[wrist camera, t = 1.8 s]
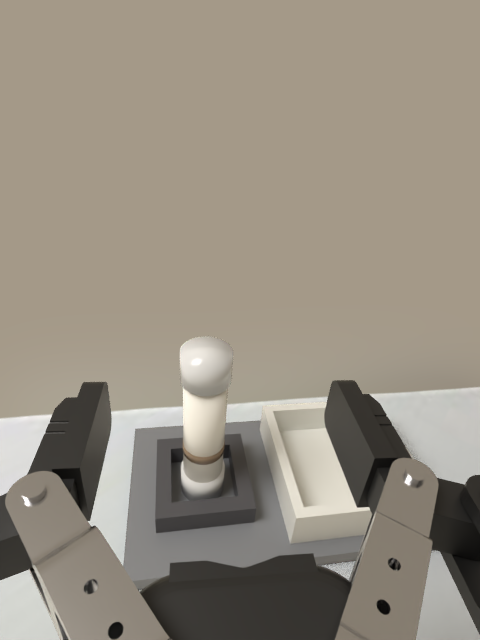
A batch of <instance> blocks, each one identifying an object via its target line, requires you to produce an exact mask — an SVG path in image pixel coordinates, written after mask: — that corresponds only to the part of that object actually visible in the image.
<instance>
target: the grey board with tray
mask: <svg viewBox="0 0 480 640" xmlns="http://www.w3.org/2000/svg"><path fill="white" fill-rule="evenodd" d="M326 404H327V402H316V403H300V404H283V405H266V406H263V409H262V416H261V421H247V422H232V423H225V437H224V438H225V446H224V453H223V461H224V464H225V472H224V485H223V491H222V493H221V495H220V496H219V497H218V498H213V499H202V500H192V501H189V500H188V499H186V498H185V496H184V495H183V493H182V490H181V464H182V461H183V426H172V427H157V428H142V429H135V440H134V451H133V462H132V474H131V485H130V497H129V508H128V520H127V531H126V542H125V554H124V565H123V567H124V569H125V570H126V572H127V573H128V575H129V577H130V578H131V580H132V581H133V583H134V584H135V586H136V587H137V589H144V588H145V587H146V586H148V585H149V584H151V583H152V582H154V581H156V580H158V579H160V578H162V577H165V576H167V575H169V571H170V563H176V562H191V561H206V560H207V561H211V562H216V563H221V564H226V565H231V566H236V567H241V568H246V567H249V566H252V565H255V564H257V563H260V562H263V561H266V560H268V559H271V558H274V557H277V556H280V555H295V554H309V553H313V554H314V558H315V562H316V565H325V564H332V563H340V562H347V561H355V560H356V559H357V556H358V553H359V550H360V547H361V544H362V541H363V538H364V535H365V532H366V529H367V526H368V524H369V521H370V518H371V515H372V513H371V511H370V508H369V507H361V508H357V506H356V504H355V501H354V499H353V496H352V494H351V491H350V489H349V486H348V483H347V481H346V478H345V476H344V473H343V471H342V468H341V466H340V463H339V461H338V458H337V455H336V453H335V450H334V448H333V445H332V443H331V440H330V438H329V435H328V433H327V430H326V427H325V421H324V413H325V408H326ZM406 449H407V448H406ZM408 452H409V451H408ZM409 454H410V453H409ZM410 456H411V454H410ZM411 457H412V456H411ZM412 459H413V457H412ZM432 550H434V549H432Z"/></svg>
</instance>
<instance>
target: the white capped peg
mask: <svg viewBox="0 0 480 640" xmlns="http://www.w3.org/2000/svg"><path fill="white" fill-rule="evenodd" d="M232 364H233V349H232V347H231V346H230V344H229V343H227V342H226V341H224V340H222V339H219V338H215V337H197V338H193V339H191V340H188V341H187V342H185V343H184V344H183V345H182V346H181V348H180V383H181V385H182V387H183V461H182V464H181V490H182V493H183V495H184V496H185V498H186V499H188V500H189V501H192V500H202V499H213V498H218V497H219V496H220V495H221V493H222V491H223V485H224V472H225V464H224V461H223V453H224V446H225V438H224V437H225V423H226V409H227V394H228V387H229V386H230V384H231V377H232Z"/></svg>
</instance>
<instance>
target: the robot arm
mask: <svg viewBox="0 0 480 640" xmlns="http://www.w3.org/2000/svg"><path fill="white" fill-rule="evenodd" d="M324 421H325V427H326V430H327V433H328V435H329V438H330V440H331V443H332V445H333V448H334V450H335V453H336V455H337V458H338V461H339V463H340V466H341V468H342V471H343V473H344V476H345V478H346V481H347V483H348V486H349V489H350V491H351V494H352V496H353V499H354V501H355V504H356V506H357V508H361V507H369V508H370V511H371V513H372V515H371V518H370V521H369V524H368V526H367V529H366V532H365V535H364V538H363V541H362V544H361V547H360V550H359V553H358V556H357V559H356V562H355V564H354V567H353V570H352V573H351V576H350V578H349V581H348V580H347V579H346V578H344V577H343V576H341V575H340V574H338V573H336V572H334V571H332V570H330V569H327V568H324V567H322V566H317V565H316V562H315V558H314V554H313V553H309V554H295V555H280V556H277V557H274V558H271V559H268V560H266V561H263V562H260V563H257V564H255V565H252V566H249V567H246V568H241V567H236V566H231V565H226V564H221V563H216V562H211V561H207V560H206V561H191V562H176V563H170V571H169V575H167V576H165V577H162V578H160V579H158V580H156V581H154V582H152V583H151V584H149V585H148V586H146V587H145V588H144V589H142V590H141V591H140V592H139V591H138V589H137V587H136V586H135V584H134V583H133V581H132V580H131V578H130V577H129V575H128V573H127V572H126V570H125V569H124V567H123V566H122V564H121V563H120V561H119V560H118V558H117V556H116V555H115V553H114V552H113V550H112V549H111V547H110V546H109V544H108V542H107V541H106V539H105V538H104V536H103V535H102V533H101V532H100V530H99V529H98V528H97V527H96V526H93V527H91V526H90V524H89V523H88V521H90V518H91V514H92V509H93V505H94V501H95V496H96V492H97V488H98V484H99V479H100V475H101V471H102V466H103V462H104V458H105V453H106V449H107V445H108V440H109V436H110V431H111V409H110V401H109V392H108V385H107V383H106V382H84V383H83V384H82V386H81V389H80V392H79V395H78V397H77V398H65V399H64V400H63V401H62V402H61V403H60V405H58V406H57V407H56V408H55V410H54V413H53V415H52V417H51V420H50V424H48V427H47V429H46V433H45V434H44V436H43V439H42V441H41V443H40V446H39V448H38V451H37V453H36V455H35V458H34V460H33V463H32V465H31V467H30V470H29V472H28V474H27V475H26V476H24V477H22V478H21V479H19V480H18V481H17V482H16V483H15V484H13V486H12V487H11V488H10V489H9V491H8V493H6V494H4V495H2V496H0V580H2V579H5V578H8V577H10V576H13V575H15V574H18V573H21V572H23V571H26V570H29V571H30V573H31V576H32V578H33V580H34V582H35V584H36V586H37V589H38V591H39V593H40V595H41V597H42V600H43V602H44V604H45V606H46V608H47V610H48V613H49V615H50V617H51V619H52V621H53V624H54V626H55V628H56V631H57V633H58V636H59V638H60V640H416V635H417V629H418V623H419V618H420V612H421V606H422V601H423V595H424V589H425V584H426V578H427V572H428V567H429V561H430V556H431V550H432V549H434V550H437V551H440V552H441V554H442V556H443V559H444V561H445V563H446V565H447V567H448V569H449V571H450V573H451V575H452V577H453V580H454V582H455V584H456V586H457V588H458V590H459V592H460V594H461V596H462V598H463V601H464V603H465V605H466V607H467V609H468V611H469V613H470V615H471V617H472V619H473V622H474V624H475V626H476V628H477V630H478V632H479V634H480V475H475V476H472V477H470V478H469V479H468V480H467V482H466V484H465V485H464V484H460V483H455V482H451V481H447V480H443V479H439V478H437V477H436V476H435V474H434V473H433V471H432V470H431V469H430V468H429V467H427V466H426V465H425V464H423V463H421V462H419V461H417V460H414V459H412V457H411V456H410V454H409V452H408V450H407V449H406V447H405V445H404V444H403V442H402V440H401V439H400V437H399V435H398V434H397V432H396V430H395V428H394V427H393V426H392V423H391V422H390V420H389V418H388V417H386V413H385V412H384V410H383V408H382V407H381V405H380V403H378V402H377V401H376V400H375V399H374V398H373V397H371V396H370V395H369V394H362V392H361V390H360V389H359V387H358V385H357V383H356V382H355V381H353V380H349V381H348V380H346V381H344V380H341V381H333V382H332V384H331V388H330V392H329V396H328V400H327V404H326V408H325V413H324Z"/></svg>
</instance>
